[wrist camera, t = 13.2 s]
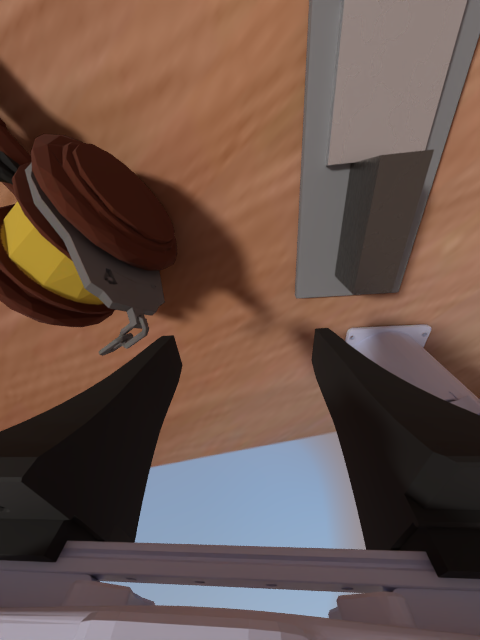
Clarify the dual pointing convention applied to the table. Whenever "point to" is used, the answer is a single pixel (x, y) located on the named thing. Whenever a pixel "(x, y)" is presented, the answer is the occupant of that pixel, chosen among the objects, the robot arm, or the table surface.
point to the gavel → (80, 237)
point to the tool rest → (331, 181)
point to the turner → (385, 126)
